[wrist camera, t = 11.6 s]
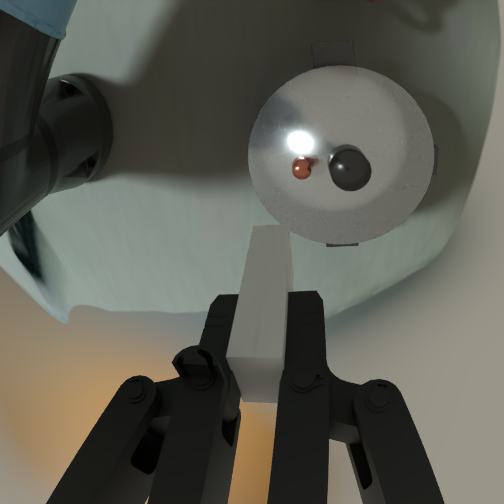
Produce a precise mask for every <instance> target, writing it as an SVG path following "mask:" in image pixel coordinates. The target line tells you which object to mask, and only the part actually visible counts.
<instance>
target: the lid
mask: <svg viewBox="0 0 504 504" xmlns="http://www.w3.org/2000/svg"><path fill="white" fill-rule="evenodd" d="M437 157H438V147H437V146H436V145H434V144H433V138H432V134H431V130H430V127H429V124H428V122H427V120H426V117H425V115H424V113H423V112H422V110H421V108H420V107H419V105H418V104H417V103H416V101H415V100H414V99H413V98H412V96H411V95H410V94H409V93H408V92H407V91H405V90H404V89H403V88H402V87H401V86H400V85H398V84H397V83H395V82H394V81H393V80H391V79H389V78H387V77H386V76H384V75H382V74H380V73H377V72H374V71H371V70H368V69H365V68H360V67H355V66H343V65H335V66H324V67H320V68H316V69H312V70H309V71H307V72H304V73H301V74H299V75H297V76H296V77H294V78H292V79H290V80H289V81H287V82H286V83H285V84H283V85H282V86H281V87H280V88H278V89H277V90H276V91H275V92H274V93H273V94H272V95H271V96H270V98H269V99H268V100H267V102H266V103H265V104H264V106H263V107H262V109H261V111H260V113H259V115H258V117H257V118H256V121H255V123H254V126H253V129H252V132H251V135H250V141H249V146H248V164H249V172H250V176H251V180H252V183H253V186H254V188H255V191H256V193H257V195H258V197H259V199H260V201H261V202H262V204H263V205H264V206H265V208H266V209H267V211H268V212H269V213H270V214H271V215H272V216H273V217H274V218H275V219H276V220H277V221H278V222H280V223H281V224H289V230H291V231H292V232H294V233H296V234H298V235H300V236H302V237H304V238H307V239H310V240H313V241H317V242H322V243H328V244H353V243H360V242H364V241H368V240H371V239H374V238H377V237H379V236H381V235H383V234H385V233H387V232H389V231H391V230H392V229H394V228H395V227H397V226H398V225H399V224H401V223H402V222H403V221H404V220H406V219H407V218H408V217H409V215H410V214H411V213H412V212H413V211H414V210H415V209H416V207H417V206H418V205H419V203H420V202H421V200H422V198H423V197H424V195H425V193H426V191H427V188H428V186H429V183H430V180H431V176H432V175H436V169H437Z"/></svg>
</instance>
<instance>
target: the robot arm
mask: <svg viewBox="0 0 504 504" xmlns="http://www.w3.org/2000/svg"><path fill="white" fill-rule="evenodd" d="M76 2H77V0H0V237H1V236H2V235H3V234H4V233H5V232H6V231H7V230H8V229H9V228H10V227H11V226H12V225H13V224H15V223H16V222H17V221H18V220H19V219H20V218H21V217H22V216H23V215H25V214H26V213H27V212H28V211H29V210H30V209H31V208H33V207H34V206H35V205H36V204H37V203H39V202H40V201H41V200H42V199H43V198H44V197H46V196H47V195H48V194H52V193H55V192H59V191H63V190H67V189H71V188H75V187H78V186H80V185H82V184H84V183H85V182H87V181H88V180H89V179H90V178H92V177H93V176H94V175H96V174H97V173H98V172H99V171H100V170H101V168H102V167H103V165H104V164H105V162H106V160H107V158H108V155H109V153H110V149H111V144H112V122H111V117H110V113H109V110H108V107H107V105H106V103H105V101H104V99H103V97H102V95H101V94H100V93H99V91H98V90H97V89H96V88H95V87H94V86H93V85H92V84H91V83H90V82H88V81H87V80H85V79H83V78H81V77H78V76H74V75H62V76H58V77H54V78H51V79H48V77H49V74H50V70H51V67H52V64H53V62H54V59H55V56H56V53H57V50H58V48H59V45H60V42H61V40H63V39H64V38H65V36H66V31H65V30H66V27H67V24H68V22H69V19H70V16H71V14H72V11H73V9H74V7H75V4H76ZM324 324H325V323H324V307H323V300H322V298H321V297H320V295H319V294H318V292H317V291H297V292H293V263H292V252H291V241H290V231H289V224H281V225H265V226H253V231H252V235H251V240H250V245H249V250H248V254H247V259H246V264H245V269H244V273H243V278H242V283H241V287H240V292H239V294H227V295H218V296H217V298H216V299H215V300H214V301H213V302H212V304H211V305H210V308H209V312H208V316H207V319H206V322H205V328H204V329H203V333H202V336H201V340H200V343H199V345H196V346H190V347H187V348H185V349H183V350H182V351H180V352H179V353H178V354H177V355H176V356H175V358H174V360H173V361H172V364H173V366H174V367H175V369H176V370H177V372H178V374H179V375H180V377H177V378H174V379H170V380H166V381H160V382H155V383H154V382H153V381H152V380H151V379H150V378H148V377H146V376H141V375H139V376H133V377H131V378H129V379H127V380H126V381H125V382H124V383H123V384H122V385H121V386H120V388H119V389H118V391H117V392H116V394H115V396H114V397H113V398H112V400H111V401H110V403H109V404H108V406H107V407H106V409H105V410H104V412H103V413H102V415H101V416H100V418H99V420H98V421H97V423H96V424H95V426H94V427H93V429H92V430H91V432H90V433H89V435H88V437H87V438H86V440H85V441H84V443H83V444H82V446H81V448H80V449H79V451H78V452H77V454H76V456H75V457H74V459H73V460H72V462H71V464H70V465H69V467H68V468H67V470H66V472H65V473H64V475H63V477H62V478H61V480H60V481H59V483H58V485H57V486H56V488H55V490H54V491H53V493H52V495H51V496H50V498H49V500H48V501H47V503H46V504H145V502H146V500H147V498H148V496H149V499H148V503H147V504H228V497H229V491H230V485H231V479H232V473H233V466H234V460H235V454H236V447H237V441H238V433H239V428H240V421H241V412H240V409H239V404H240V397H242V400H243V402H267V403H268V402H269V403H278V407H277V417H276V428H275V438H274V449H273V457H272V467H271V476H270V485H269V493H268V501H267V504H327V493H328V492H327V491H328V463H329V439H332V440H336V441H340V442H344V443H346V446H347V450H348V453H349V457H350V460H351V463H352V467H353V470H354V474H355V477H356V480H357V484H358V488H359V491H360V495H361V498H362V502H363V504H444V501H443V498H442V495H441V492H440V489H439V486H438V483H437V481H436V478H435V475H434V473H433V470H432V467H431V464H430V462H429V459H428V457H427V454H426V452H425V449H424V446H423V444H422V441H421V439H420V437H419V434H418V432H417V429H416V427H415V424H414V422H413V420H412V417H411V415H410V412H409V410H408V408H407V406H406V403H405V401H404V399H403V397H402V394H401V392H400V391H399V389H398V388H397V387H396V385H394V384H393V383H391V382H389V381H387V380H382V379H376V380H370V381H368V382H366V383H364V384H362V385H359V384H355V383H350V382H346V381H343V380H341V379H339V378H338V377H336V376H335V375H334V374H333V373H332V372H331V371H330V369H329V367H328V366H327V360H326V340H325V325H324Z"/></svg>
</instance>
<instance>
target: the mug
mask: <svg viewBox="0 0 504 504" xmlns="http://www.w3.org/2000/svg"><path fill="white" fill-rule="evenodd" d="M365 1H367V2H380V1H384V0H365Z"/></svg>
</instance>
